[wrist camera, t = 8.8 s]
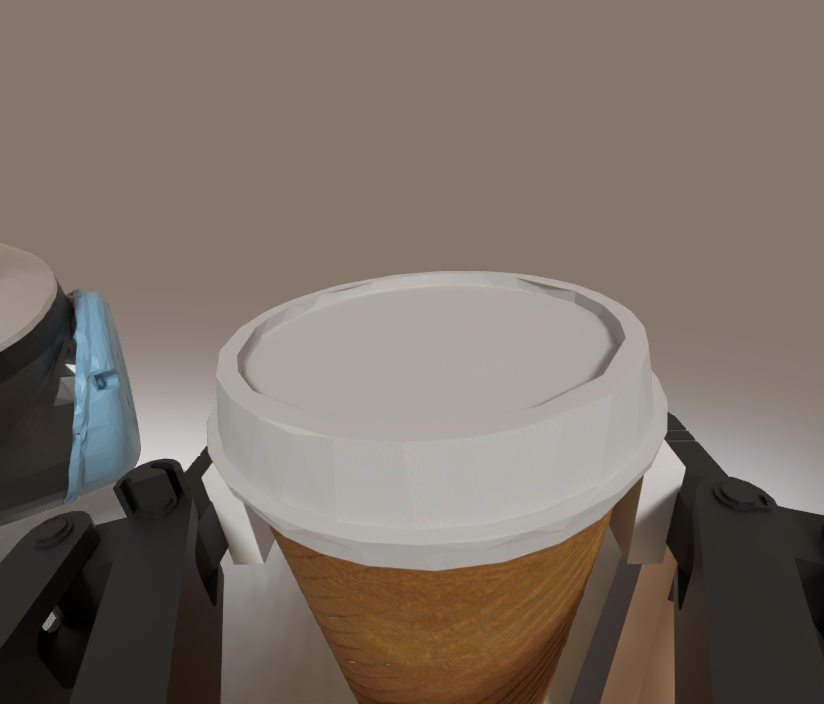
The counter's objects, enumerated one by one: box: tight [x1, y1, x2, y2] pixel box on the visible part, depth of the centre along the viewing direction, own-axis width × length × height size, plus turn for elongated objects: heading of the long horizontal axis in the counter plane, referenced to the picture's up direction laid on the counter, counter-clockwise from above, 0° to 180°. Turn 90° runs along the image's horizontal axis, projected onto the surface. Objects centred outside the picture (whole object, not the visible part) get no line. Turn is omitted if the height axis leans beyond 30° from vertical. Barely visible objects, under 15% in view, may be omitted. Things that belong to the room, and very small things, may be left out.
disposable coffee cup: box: [207, 271, 667, 704], centre depth 12 cm, size 10×10×12 cm
